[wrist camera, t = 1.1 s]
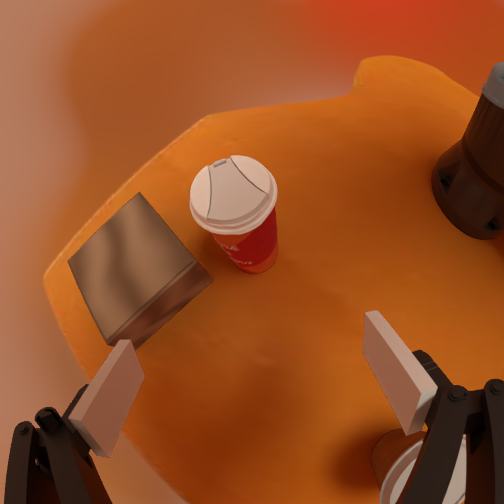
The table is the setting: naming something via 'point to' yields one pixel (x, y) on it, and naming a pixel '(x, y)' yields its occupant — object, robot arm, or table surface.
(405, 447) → the disposable coffee cup
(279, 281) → the table surface
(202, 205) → the paper cup
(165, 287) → the walnut box
